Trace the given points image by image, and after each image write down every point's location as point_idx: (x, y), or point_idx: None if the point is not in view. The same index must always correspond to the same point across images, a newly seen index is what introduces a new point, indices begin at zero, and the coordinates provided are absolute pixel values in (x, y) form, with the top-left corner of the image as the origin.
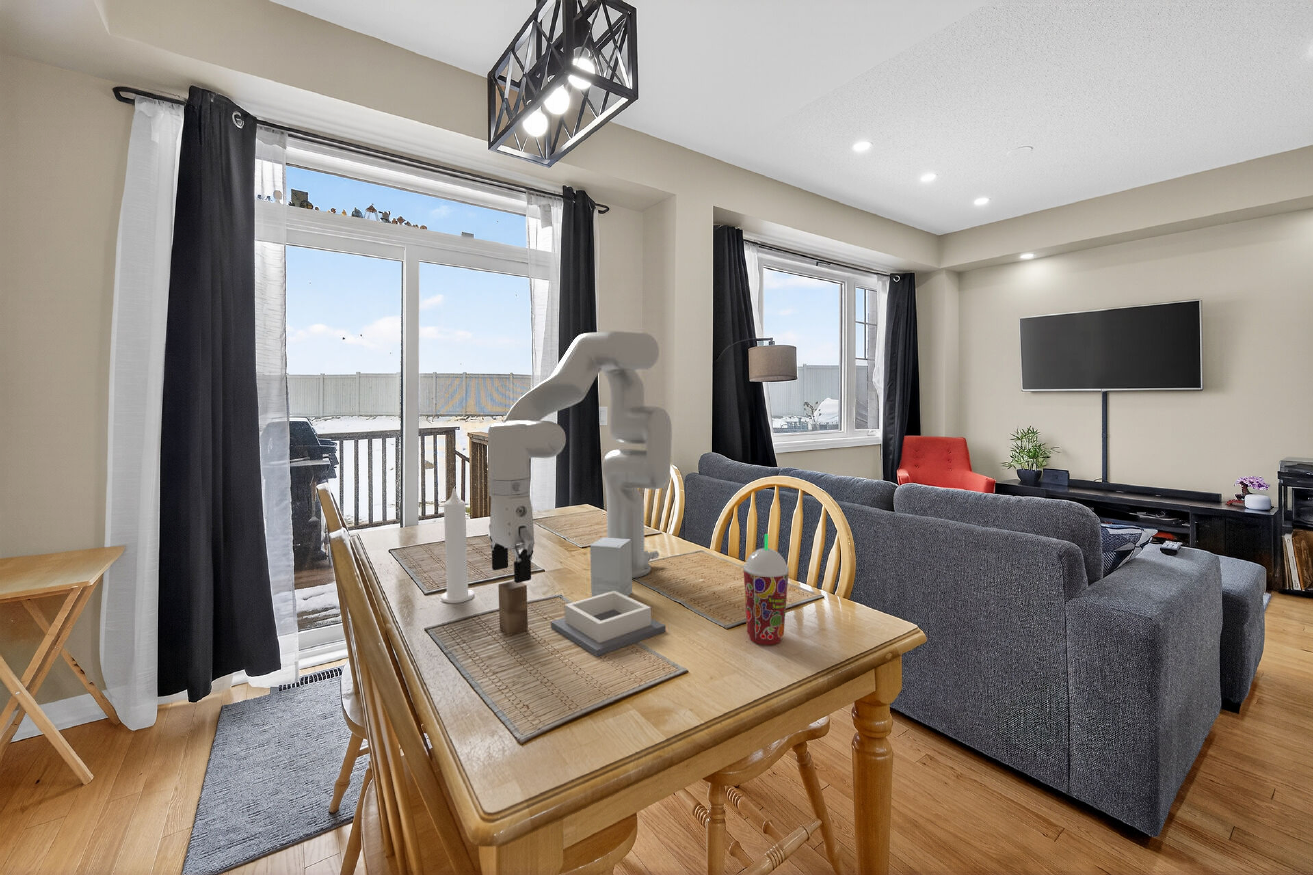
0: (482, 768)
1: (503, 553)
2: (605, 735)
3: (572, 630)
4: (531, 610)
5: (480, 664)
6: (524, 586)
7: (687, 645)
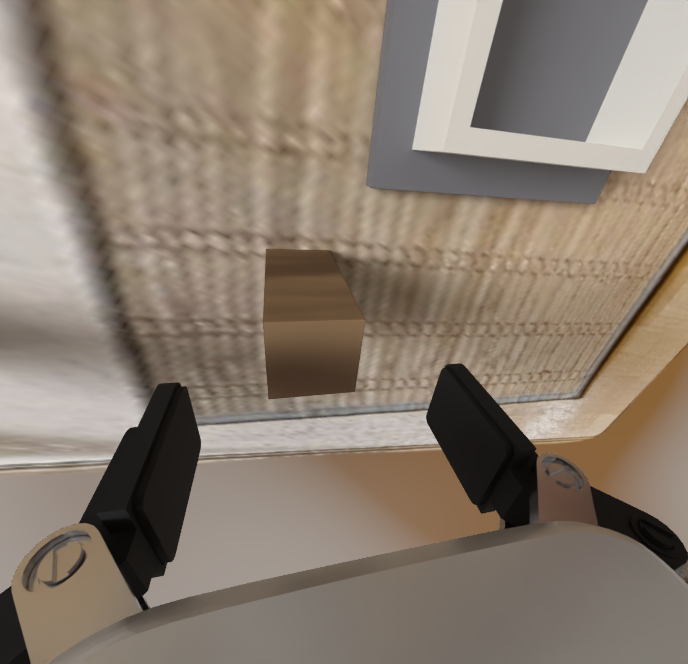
0: (564, 429)
1: (160, 493)
2: (667, 329)
3: (475, 175)
4: (170, 144)
5: (398, 385)
6: (361, 326)
7: None
